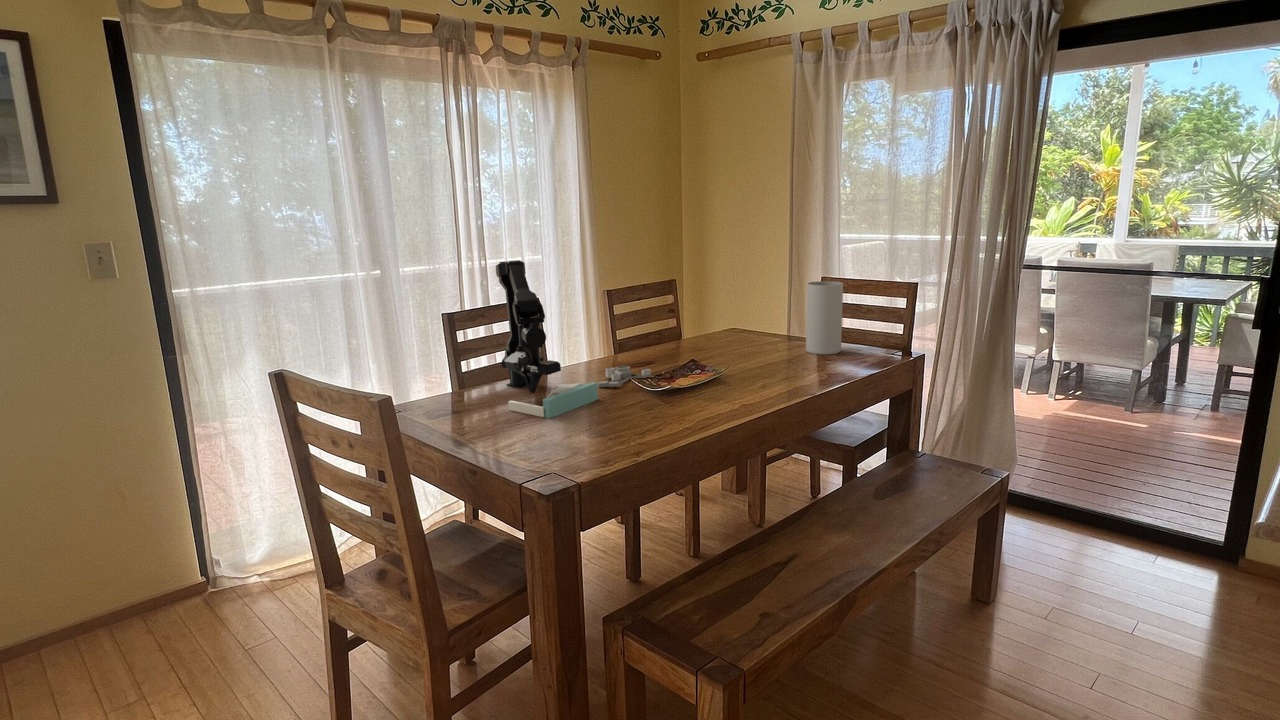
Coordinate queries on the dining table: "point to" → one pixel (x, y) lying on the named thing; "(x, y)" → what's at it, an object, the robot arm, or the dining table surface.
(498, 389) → the dining table surface
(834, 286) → the cylinder vase
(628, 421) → the dining table surface
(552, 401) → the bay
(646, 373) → the pulley system
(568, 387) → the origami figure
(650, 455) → the dining table surface
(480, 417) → the dining table surface
